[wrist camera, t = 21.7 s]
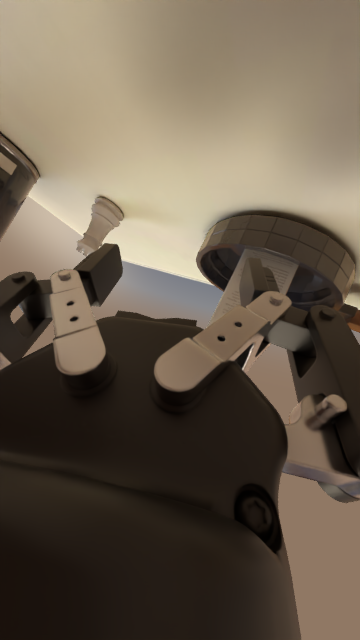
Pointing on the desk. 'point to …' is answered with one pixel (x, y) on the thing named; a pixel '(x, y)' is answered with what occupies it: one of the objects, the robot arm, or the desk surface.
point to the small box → (231, 295)
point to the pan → (285, 242)
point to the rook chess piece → (99, 225)
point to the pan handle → (351, 316)
